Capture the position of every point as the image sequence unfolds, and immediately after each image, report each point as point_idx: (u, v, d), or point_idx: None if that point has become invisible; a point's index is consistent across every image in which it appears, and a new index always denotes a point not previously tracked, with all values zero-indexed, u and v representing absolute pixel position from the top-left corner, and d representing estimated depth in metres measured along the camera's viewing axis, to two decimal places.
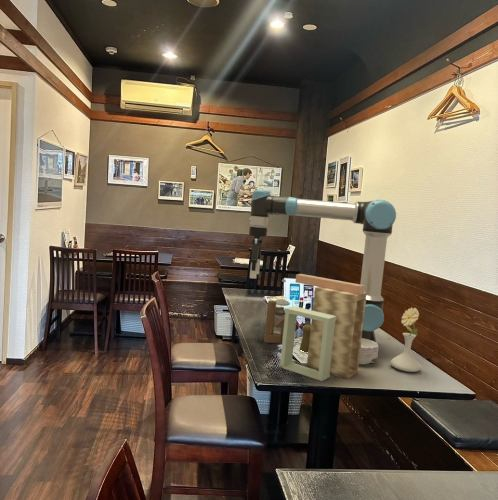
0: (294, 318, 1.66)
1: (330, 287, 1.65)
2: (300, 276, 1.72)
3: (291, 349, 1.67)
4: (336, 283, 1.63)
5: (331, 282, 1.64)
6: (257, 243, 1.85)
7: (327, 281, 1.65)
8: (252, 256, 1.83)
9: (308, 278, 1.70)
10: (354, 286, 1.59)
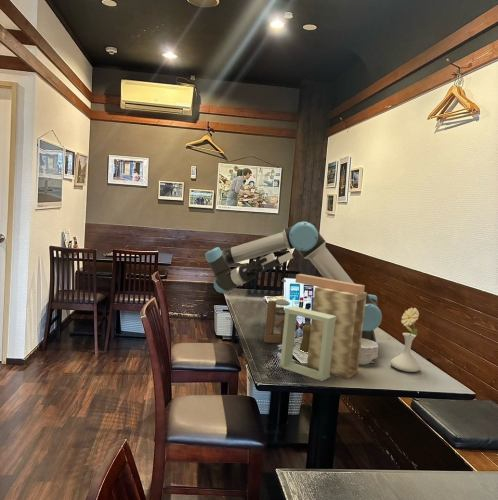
0: (294, 318, 1.66)
1: (330, 287, 1.65)
2: (300, 276, 1.72)
3: (291, 349, 1.67)
4: (336, 283, 1.63)
5: (331, 282, 1.64)
6: (245, 267, 1.83)
7: (327, 281, 1.65)
8: (252, 266, 1.77)
9: (308, 278, 1.70)
10: (354, 286, 1.59)
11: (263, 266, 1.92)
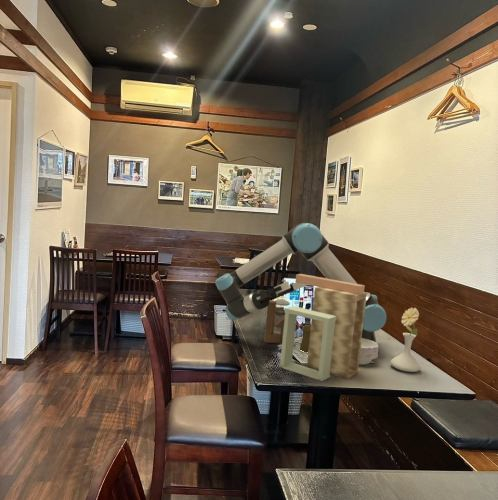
0: (294, 318, 1.66)
1: (330, 287, 1.65)
2: (300, 276, 1.72)
3: (291, 349, 1.67)
4: (336, 283, 1.63)
5: (331, 282, 1.64)
6: (258, 295, 1.77)
7: (327, 281, 1.65)
8: (266, 295, 1.72)
9: (308, 278, 1.70)
10: (354, 286, 1.59)
11: None
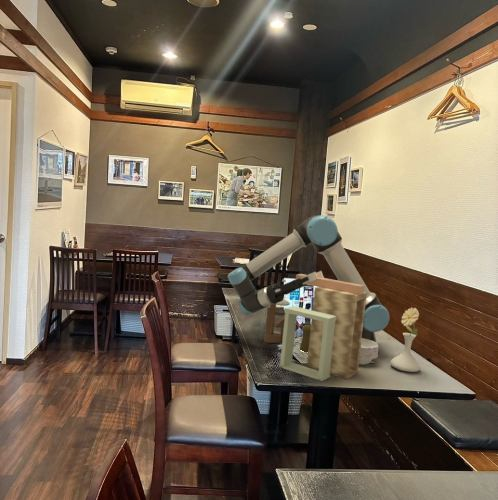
0: (294, 318, 1.66)
1: (330, 287, 1.65)
2: (300, 276, 1.72)
3: (291, 349, 1.67)
4: (336, 283, 1.63)
5: (331, 282, 1.64)
6: (279, 287, 1.73)
7: (327, 281, 1.65)
8: (292, 286, 1.70)
9: None
10: (354, 286, 1.59)
11: None
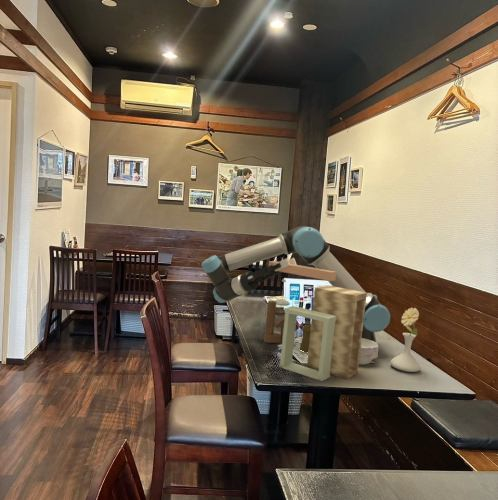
0: (294, 318, 1.66)
1: (302, 273, 1.62)
2: (273, 263, 1.69)
3: (291, 349, 1.67)
4: (307, 269, 1.61)
5: (303, 268, 1.62)
6: (251, 274, 1.70)
7: (299, 267, 1.63)
8: (264, 272, 1.67)
9: None
10: (325, 272, 1.56)
11: None
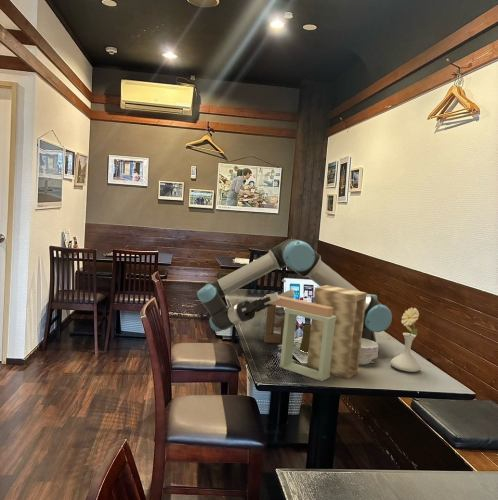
0: (294, 318, 1.66)
1: (299, 309, 1.61)
2: None
3: (291, 349, 1.67)
4: (304, 305, 1.59)
5: (300, 304, 1.60)
6: (244, 307, 1.69)
7: (296, 302, 1.61)
8: (254, 306, 1.64)
9: None
10: (322, 308, 1.55)
11: None
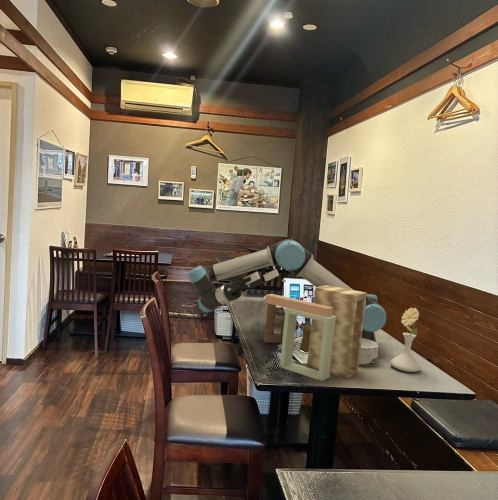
0: (294, 318, 1.66)
1: (299, 309, 1.61)
2: (269, 296, 1.68)
3: (291, 349, 1.67)
4: (304, 305, 1.59)
5: (300, 304, 1.60)
6: (229, 287, 1.77)
7: (296, 302, 1.61)
8: (236, 286, 1.72)
9: (277, 299, 1.66)
10: (322, 308, 1.55)
11: (248, 284, 1.87)
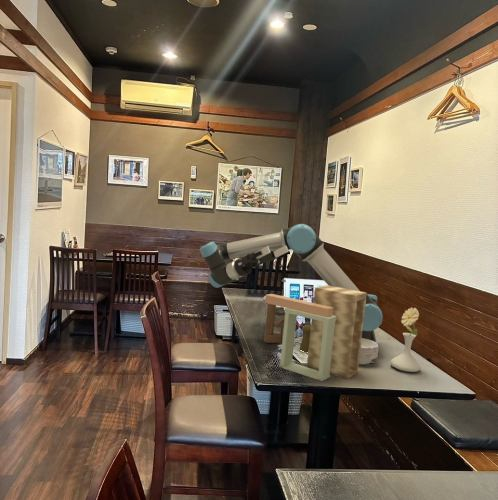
0: (294, 318, 1.66)
1: (299, 309, 1.61)
2: (269, 296, 1.68)
3: (291, 349, 1.67)
4: (304, 305, 1.59)
5: (300, 304, 1.60)
6: (240, 261, 1.82)
7: (296, 302, 1.61)
8: (247, 260, 1.76)
9: (277, 299, 1.66)
10: (322, 308, 1.55)
11: (259, 260, 1.91)
